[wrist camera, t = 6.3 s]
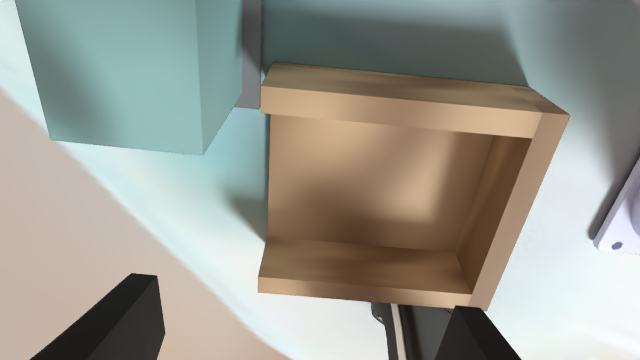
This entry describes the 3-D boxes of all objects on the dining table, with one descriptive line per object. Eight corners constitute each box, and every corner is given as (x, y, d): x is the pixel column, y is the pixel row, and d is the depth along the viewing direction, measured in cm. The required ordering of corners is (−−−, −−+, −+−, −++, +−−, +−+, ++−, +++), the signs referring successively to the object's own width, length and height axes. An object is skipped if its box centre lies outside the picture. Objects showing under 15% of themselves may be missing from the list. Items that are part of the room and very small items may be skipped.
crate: (529, 86, 17) (570, 115, 14) (465, 263, 22) (486, 311, 19) (273, 62, 17) (260, 85, 14) (267, 246, 22) (258, 292, 19)
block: (242, -24, 15) (195, -9, 10) (241, 93, 17) (202, 155, 12) (120, -38, 15) (7, -31, 10) (136, 81, 17) (50, 140, 12)
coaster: (263, -48, 15) (261, -48, 14) (260, 106, 18) (259, 109, 17) (100, -65, 15) (94, -65, 14) (125, 93, 18) (121, 96, 17)
